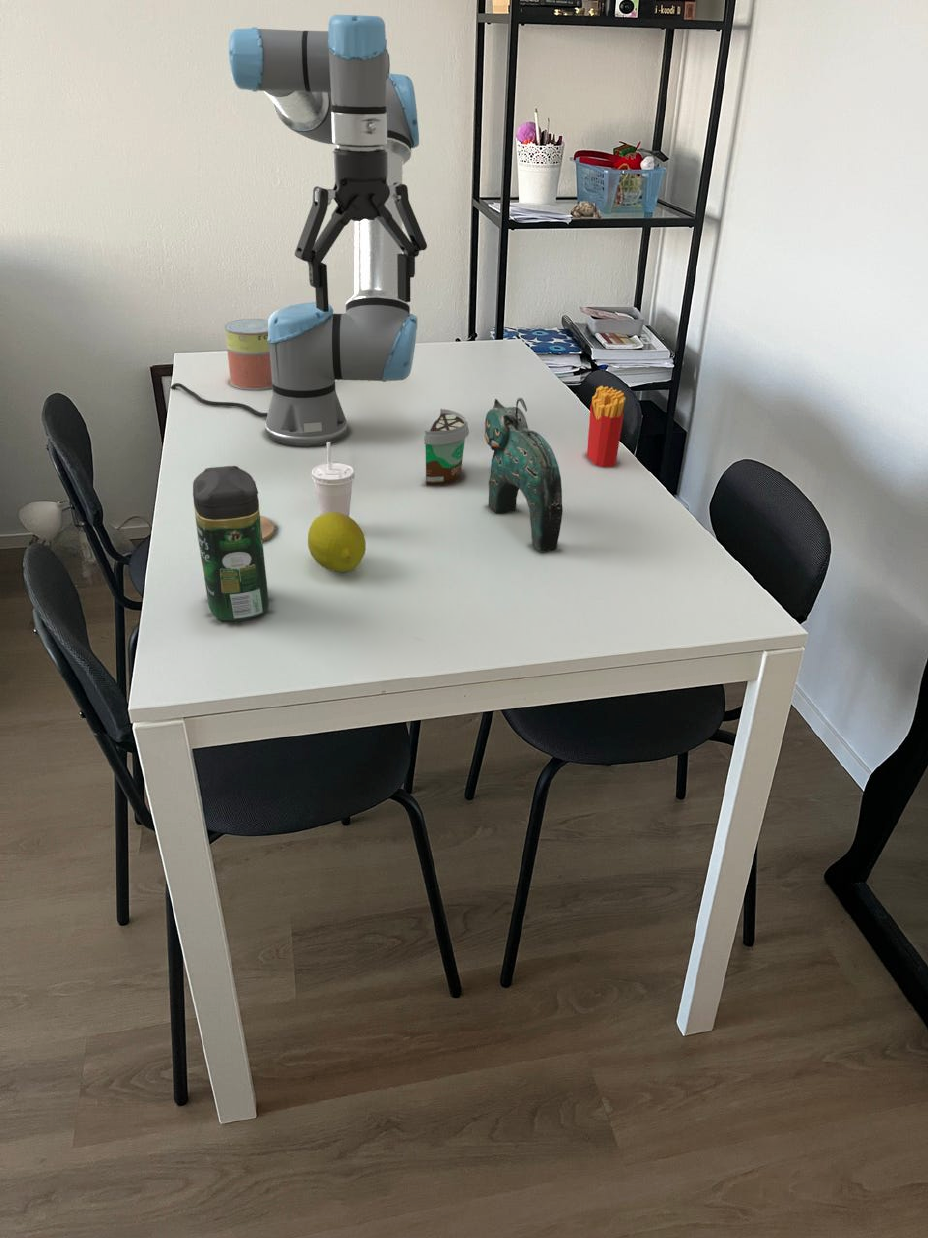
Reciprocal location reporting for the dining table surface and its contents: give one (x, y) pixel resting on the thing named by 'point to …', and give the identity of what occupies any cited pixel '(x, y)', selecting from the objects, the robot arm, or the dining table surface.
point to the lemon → (336, 542)
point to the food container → (445, 448)
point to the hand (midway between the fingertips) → (364, 304)
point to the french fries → (605, 426)
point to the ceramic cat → (524, 473)
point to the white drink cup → (333, 485)
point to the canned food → (249, 354)
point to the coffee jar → (231, 543)
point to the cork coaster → (266, 528)
